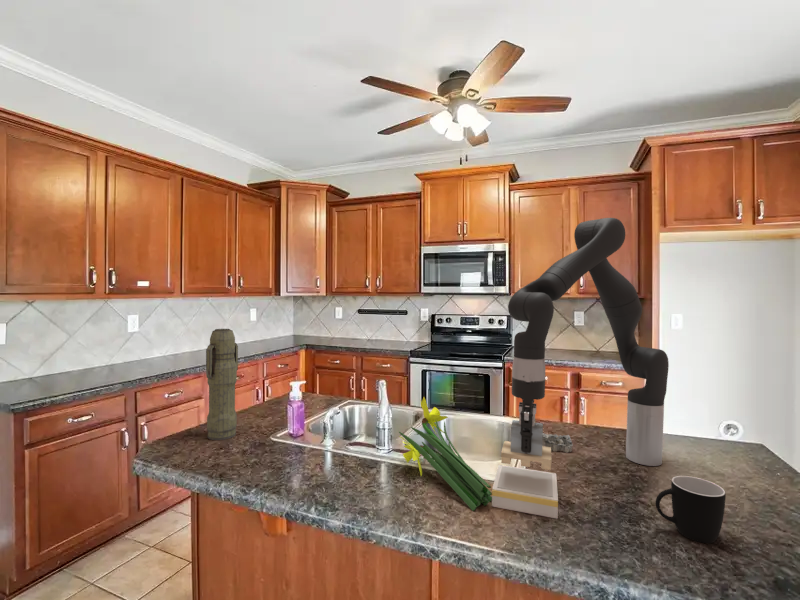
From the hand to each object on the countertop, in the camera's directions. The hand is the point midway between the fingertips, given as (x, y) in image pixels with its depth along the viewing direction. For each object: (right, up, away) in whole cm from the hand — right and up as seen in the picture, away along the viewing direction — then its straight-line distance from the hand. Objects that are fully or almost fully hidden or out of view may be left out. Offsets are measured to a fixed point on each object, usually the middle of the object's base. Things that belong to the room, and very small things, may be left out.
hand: (526, 447), depth 98 cm
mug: (+29, -13, -13) cm, 34 cm away
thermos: (-89, -10, +38) cm, 97 cm away
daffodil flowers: (-18, -12, +9) cm, 23 cm away
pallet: (0, -3, 0) cm, 3 cm away
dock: (0, -12, 0) cm, 12 cm away
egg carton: (+19, -12, +33) cm, 39 cm away
